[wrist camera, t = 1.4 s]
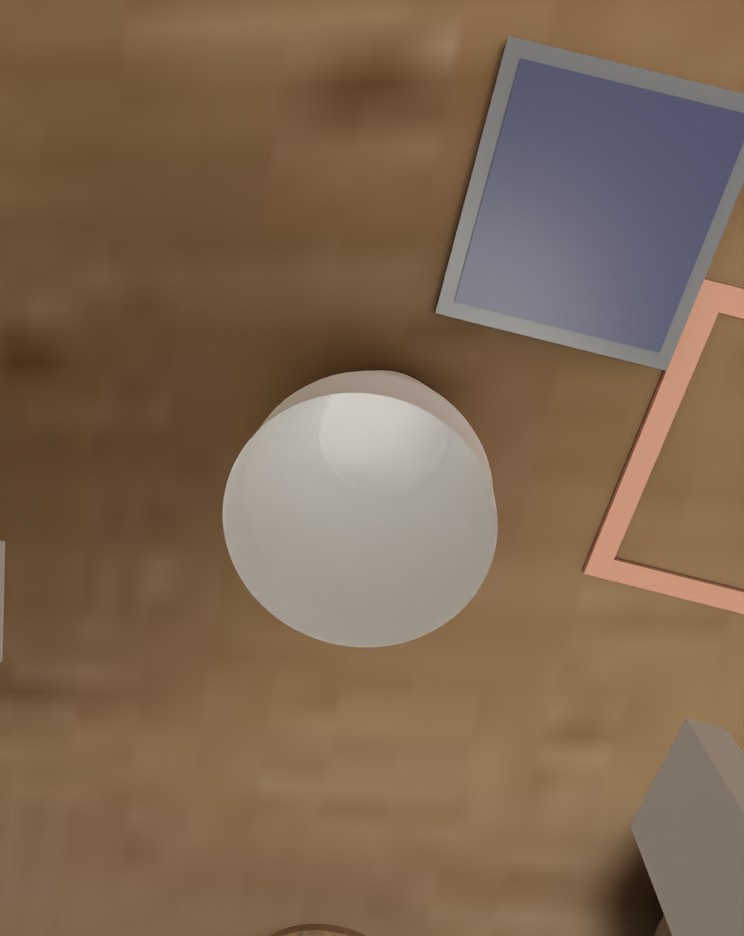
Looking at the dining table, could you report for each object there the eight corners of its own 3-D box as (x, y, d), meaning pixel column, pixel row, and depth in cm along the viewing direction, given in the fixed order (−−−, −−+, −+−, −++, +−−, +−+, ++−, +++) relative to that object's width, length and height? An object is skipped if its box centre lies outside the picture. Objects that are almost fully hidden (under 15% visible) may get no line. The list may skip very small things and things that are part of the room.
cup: (315, 325, 27) (240, 352, 16) (493, 370, 27) (544, 429, 16) (282, 491, 30) (199, 614, 19) (443, 532, 30) (457, 680, 19)
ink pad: (434, 312, 27) (435, 313, 26) (504, 46, 23) (509, 33, 22) (658, 367, 27) (668, 371, 25) (762, 109, 23) (779, 99, 22)
